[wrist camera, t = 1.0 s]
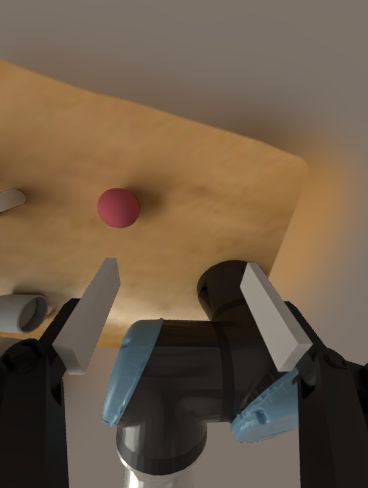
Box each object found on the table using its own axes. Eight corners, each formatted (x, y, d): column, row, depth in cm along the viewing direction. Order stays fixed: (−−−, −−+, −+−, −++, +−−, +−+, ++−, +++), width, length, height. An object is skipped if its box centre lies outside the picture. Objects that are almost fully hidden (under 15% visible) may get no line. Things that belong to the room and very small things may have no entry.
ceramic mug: (2, 287, 37) (-36, 318, 30) (41, 287, 37) (12, 318, 31) (23, 317, 42) (-5, 350, 36) (57, 317, 43) (36, 349, 36)
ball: (148, 210, 30) (143, 224, 24) (120, 224, 31) (109, 240, 25) (128, 178, 27) (117, 185, 22) (98, 195, 28) (80, 206, 23)
